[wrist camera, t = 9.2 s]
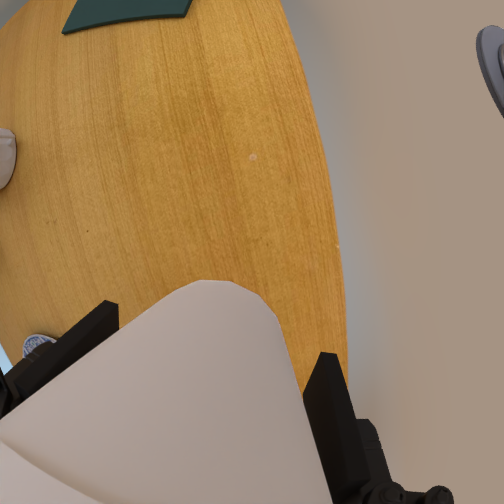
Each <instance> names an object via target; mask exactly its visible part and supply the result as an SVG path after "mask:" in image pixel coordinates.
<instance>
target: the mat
mask: <svg viewBox="0 0 504 504" xmlns="http://www.w3.org/2000/svg"><path fill="white" fill-rule="evenodd" d="M191 2H192V0H77V2H76V4H75V6H74V8H73V10H72V11H71V13H70V15H69V17H68V19H67V21H66V23H65V25H64V28H63V30H62V32H61V33H62V34H64V35H65V34H68V33H72V32H76V31H80V30H84V29H88V28H93V27H97V26H102V25H108V24H113V23H119V22H126V21H134V20H143V19H154V18H169V17H185V16H186V14H187V11H188V9H189V7H190V4H191Z"/></svg>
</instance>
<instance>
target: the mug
mask: <svg viewBox="0 0 504 504" xmlns="http://www.w3.org/2000/svg"><path fill="white" fill-rule="evenodd" d="M15 160H16V142H15V135H14V134H13V133H12V132H11V131H10V130H8V129H1V128H0V189H1V188H3V187H4V186H6V184H7V183H8V181H9V180H10V178H11V175H12V173H13V170H14V166H15Z"/></svg>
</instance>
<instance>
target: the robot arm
mask: <svg viewBox="0 0 504 504" xmlns="http://www.w3.org/2000/svg"><path fill="white" fill-rule="evenodd" d="M498 61H499V66H500V69H501V73H502V76H503V78H504V43H503V44H501V45H500V46H499V48H498ZM117 331H119V311H118V304H116V303H113V302H110V301H107V300H104V301H103V302H102V303H101V304H99V305H98V306H97V307H96V308H95V309H93V310H92V311H91V312H90V313H89V314H87V315H86V316H85V317H84V318H83V319H81V320H80V321H79V322H78V323H77V324H76V325H74V326H73V327H72V328H71V329H70V330H69V331H67V332H66V333H65V334H64V335H63V336H62V337H60V338H59V339H58V340H57V341H56V342H55V343H53V342H51V341H46V342H44V343H41V344H39V345H38V346H37V347H35V348H34V349H33V350H32V351H31V353H29V354H27V355H26V356H25V358H23V359H22V360H21V361H19V362H18V363H17V364H16V365H15V366H14V367H13V368H12V369H11V370H10V371H8V373H6V374H5V375H3V372H2V370H1V368H0V420H1V419H2V418H3V417H5V416H6V415H7V414H8V413H10V412H11V411H12V410H14V409H15V408H16V407H17V406H19V405H20V404H21V403H23V402H24V401H25V400H26V399H28V398H29V397H30V396H32V395H33V394H34V393H36V392H37V391H38V390H40V389H41V388H42V387H43V386H45V385H46V384H47V383H49V382H50V381H51V380H53V379H54V378H55V377H57V376H58V375H59V374H61V373H62V372H63V371H65V370H66V369H67V368H69V367H70V366H71V365H73V364H74V363H75V362H77V361H78V360H79V359H81V358H82V357H83V356H85V355H86V354H87V353H89V352H90V351H91V350H93V349H94V348H95V347H97V346H98V345H99V344H101V343H102V342H104V341H105V340H106V339H108V338H109V337H110V336H112V335H113V334H114V333H116V332H117ZM303 403H304V407H305V410H306V414H307V417H308V420H309V424H310V427H311V431H312V434H313V437H314V441H315V444H316V447H317V451H318V454H319V458H320V461H321V465H322V468H323V471H324V475H325V478H326V482H327V485H328V489H329V492H330V496H331V499H332V503H333V504H454V500H453V495H452V492H451V491H450V490H449V489H448V488H446V487H444V486H439V485H438V486H435V487H432V488H431V489H430V490H428V491H427V492H426V493H424V492H410V491H405V490H404V489H403V487H402V486H401V485H400V484H398V483H396V482H393V481H392V479H391V476H390V473H389V469H388V466H387V463H386V459H385V456H384V453H383V449H381V443H380V441H379V437H378V434H377V431H376V428H375V427H374V425H373V424H372V423H371V422H370V421H369V419H356V417H355V414H354V410H353V406H352V403H351V400H350V396H349V393H348V389H347V386H346V383H345V379H344V376H343V373H342V370H341V366H340V363H339V360H338V357H337V354H334V353H326V352H321V353H320V355H319V357H318V360H317V362H316V365H315V367H314V369H313V372H312V374H311V376H310V379H309V381H308V383H307V385H306V388H305V390H304V392H303Z"/></svg>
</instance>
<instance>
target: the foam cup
mask: <svg viewBox="0 0 504 504" xmlns="http://www.w3.org/2000/svg"><path fill="white" fill-rule="evenodd" d="M0 504H333V503H332V499H331V496H330V492H329V489H328V485H327V482H326V478H325V475H324V471H323V468H322V465H321V461H320V458H319V454H318V451H317V447H316V444H315V441H314V437H313V434H312V431H311V427H310V424H309V420H308V417H307V414H306V410H305V407H304V403H303V400H302V397H301V393H300V390H299V387H298V383H297V380H296V377H295V373H294V370H293V367H292V363H291V360H290V357H289V353H288V350H287V347H286V343H285V340H284V337H283V333H282V330H281V327H280V323H279V322H278V318H277V316H276V315H275V314H274V313H273V312H272V310H271V309H270V308H269V307H268V306H267V304H266V303H265V302H264V301H263V300H262V298H261V297H260V296H259V295H258V294H256V293H254V292H251V291H249V290H247V289H245V288H243V287H241V286H239V285H237V284H235V283H233V282H231V281H214V280H198V281H195V282H193V283H191V284H188V285H186V286H184V287H181V288H179V289H177V290H174V291H173V293H170V294H168V295H167V296H165V297H164V298H163V299H161V300H160V301H158V302H157V303H156V304H154V305H153V306H151V307H150V308H149V309H147V310H146V311H145V312H143V313H142V314H140V315H139V316H138V317H136V318H135V319H134V320H132V321H131V322H129V323H128V324H127V325H125V326H124V327H123V328H121V329H120V330H119V331H117V332H116V333H114V334H113V335H112V336H110V337H109V338H108V339H106V340H105V341H104V342H102V343H101V344H99V345H98V346H97V347H95V348H94V349H93V350H91V351H90V352H89V353H87V354H86V355H85V356H83V357H82V358H81V359H79V360H78V361H77V362H75V363H74V364H73V365H71V366H70V367H69V368H67V369H66V370H65V371H63V372H62V373H61V374H59V375H58V376H57V377H55V378H54V379H53V380H51V381H50V382H49V383H47V384H46V385H45V386H43V387H42V388H41V389H40V390H38V391H37V392H36V393H34V394H33V395H32V396H30V397H29V398H28V399H26V400H25V401H24V402H23V403H21V404H20V405H19V406H17V407H16V408H15V409H14V410H12V411H11V412H10V413H8V414H7V415H6V416H5V417H3V418H2V419H1V420H0Z"/></svg>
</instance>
